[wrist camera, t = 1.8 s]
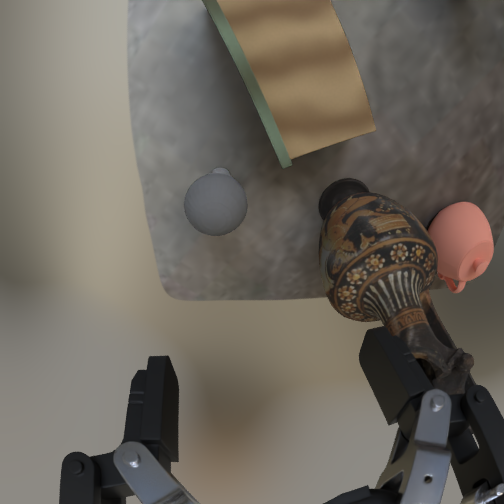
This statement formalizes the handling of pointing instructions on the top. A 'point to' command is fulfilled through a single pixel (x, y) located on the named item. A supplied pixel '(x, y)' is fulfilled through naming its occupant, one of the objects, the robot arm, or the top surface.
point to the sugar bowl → (461, 243)
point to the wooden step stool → (295, 71)
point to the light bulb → (216, 203)
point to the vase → (387, 277)
